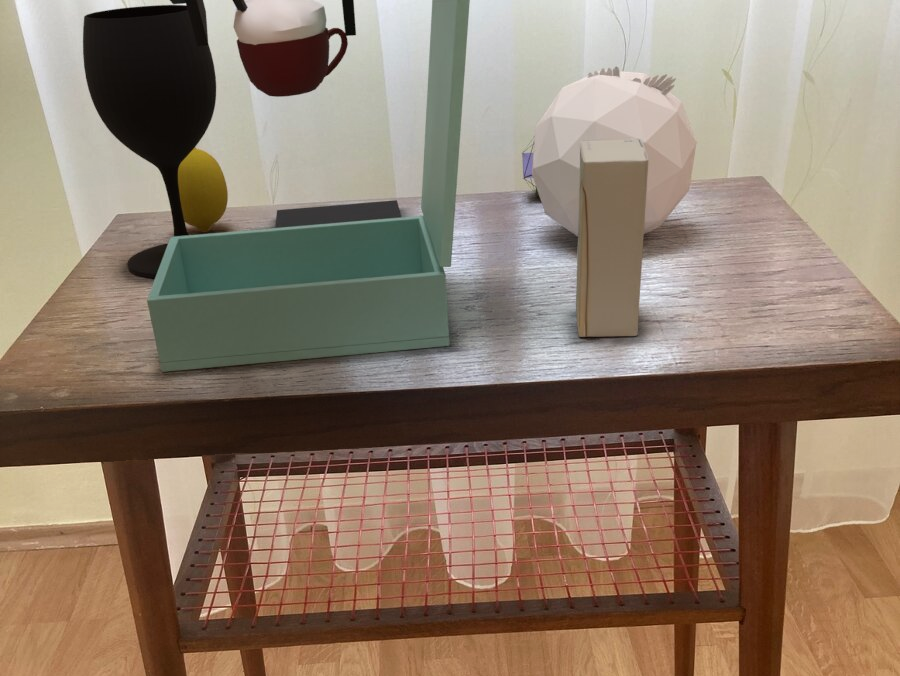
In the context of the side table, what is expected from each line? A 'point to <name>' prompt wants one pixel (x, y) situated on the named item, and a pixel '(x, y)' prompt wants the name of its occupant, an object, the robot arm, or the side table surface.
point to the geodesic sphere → (614, 117)
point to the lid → (444, 122)
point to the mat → (337, 214)
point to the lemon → (202, 190)
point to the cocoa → (285, 44)
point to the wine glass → (151, 94)
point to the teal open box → (298, 294)
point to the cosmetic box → (610, 236)
